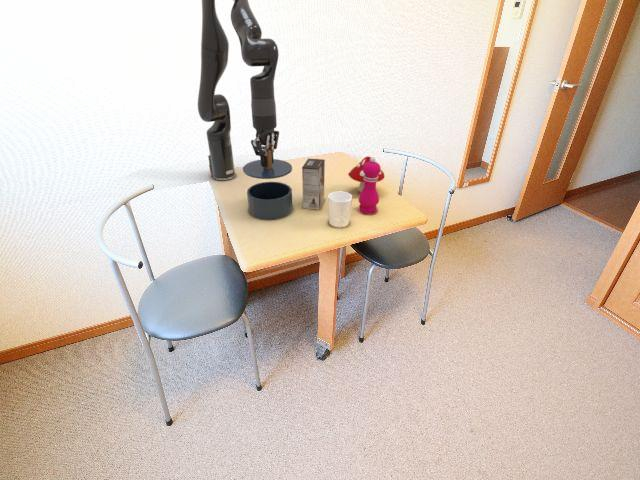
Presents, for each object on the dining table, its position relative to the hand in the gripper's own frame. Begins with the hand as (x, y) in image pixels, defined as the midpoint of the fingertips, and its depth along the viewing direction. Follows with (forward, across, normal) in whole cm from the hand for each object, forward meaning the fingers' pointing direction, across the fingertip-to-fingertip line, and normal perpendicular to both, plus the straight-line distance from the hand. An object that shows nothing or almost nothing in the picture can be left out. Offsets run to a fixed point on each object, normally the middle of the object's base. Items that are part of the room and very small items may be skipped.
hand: (267, 164), depth 120 cm
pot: (+17, 0, 0) cm, 17 cm away
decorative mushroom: (+17, -29, +26) cm, 43 cm away
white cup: (+17, -2, +26) cm, 31 cm away
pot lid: (+2, 0, 0) cm, 2 cm away
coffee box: (+17, -11, +12) cm, 24 cm away
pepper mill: (+17, -15, +32) cm, 39 cm away
